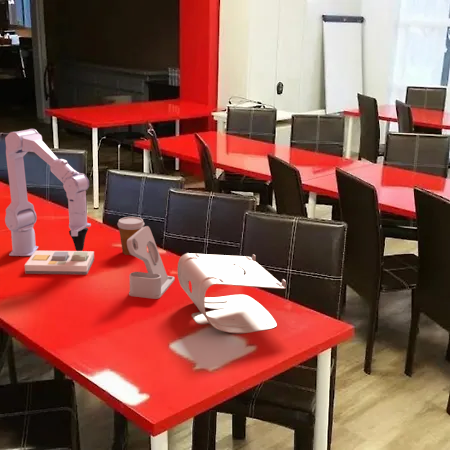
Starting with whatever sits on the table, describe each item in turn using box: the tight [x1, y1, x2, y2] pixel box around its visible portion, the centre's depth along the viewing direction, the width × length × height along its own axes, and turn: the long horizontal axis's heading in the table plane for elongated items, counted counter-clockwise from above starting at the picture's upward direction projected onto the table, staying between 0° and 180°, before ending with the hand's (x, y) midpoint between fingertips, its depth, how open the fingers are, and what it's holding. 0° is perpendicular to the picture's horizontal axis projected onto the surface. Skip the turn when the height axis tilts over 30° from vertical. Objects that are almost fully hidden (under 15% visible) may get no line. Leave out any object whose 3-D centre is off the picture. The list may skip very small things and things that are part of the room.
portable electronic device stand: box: [177, 252, 287, 334], centre depth 182 cm, size 26×24×16 cm
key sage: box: [72, 252, 88, 261], centre depth 217 cm, size 4×4×2 cm
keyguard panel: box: [24, 250, 95, 275], centre depth 217 cm, size 14×20×3 cm
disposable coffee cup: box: [117, 216, 145, 256], centre depth 231 cm, size 10×10×12 cm
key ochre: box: [32, 255, 49, 261], centre depth 217 cm, size 4×4×2 cm
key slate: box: [52, 252, 68, 261], centre depth 216 cm, size 4×4×2 cm
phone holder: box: [127, 225, 175, 300], centre depth 200 cm, size 17×10×18 cm, turn 167°
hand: (79, 250), depth 216 cm, fingers closed
